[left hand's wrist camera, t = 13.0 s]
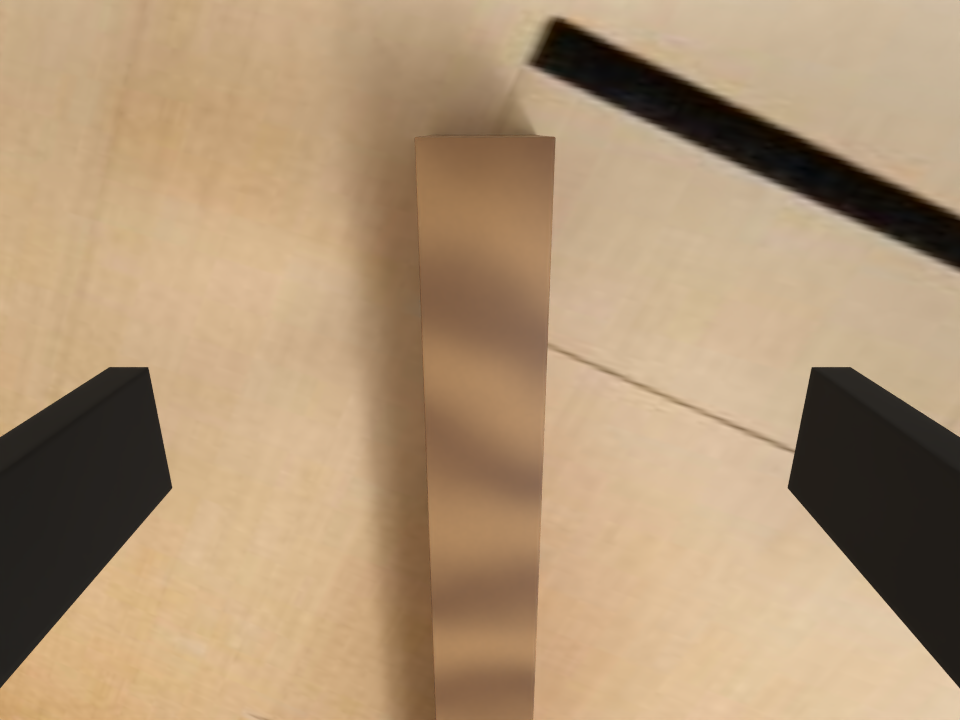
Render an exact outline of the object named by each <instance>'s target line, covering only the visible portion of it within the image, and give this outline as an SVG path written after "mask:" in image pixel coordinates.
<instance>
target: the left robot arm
mask: <svg viewBox="0 0 960 720" xmlns="http://www.w3.org/2000/svg"><path fill="white" fill-rule="evenodd" d="M171 489H172V484H171V479H170V474H169V469H168V464H167V459H166V454H165V449H164V444H163V439H162V434H161V429H160V424H159V419H158V414H157V409H156V404H155V399H154V394H153V389H152V384H151V379H150V374H149V369H148V367H109V368H108V369H106V370H104V371H103V372H101V373H100V374H98V375H97V376H95V377H94V378H92V379H90V380H89V381H87V382H86V383H84V384H83V385H81V386H80V387H78V388H76V389H75V390H73V391H72V392H70V393H69V394H67V395H65V396H64V397H62V398H61V399H59V400H58V401H56V402H55V403H53V404H51V405H50V406H48V407H47V408H45V409H44V410H42V411H40V412H39V413H37V414H36V415H34V416H33V417H31V418H30V419H28V420H26V421H25V422H23V423H22V424H20V425H19V426H17V427H16V428H14V429H12V430H11V431H9V432H8V433H6V434H5V435H3V436H1V437H0V688H1V687H2V686H3V684H4V683H5V682H6V681H7V680H8V679H9V677H10V676H11V675H12V674H13V673H14V672H15V670H16V669H17V668H18V667H19V666H20V665H21V663H22V662H23V661H24V660H25V659H26V658H27V656H28V655H29V654H30V653H31V652H32V651H33V649H34V648H35V647H36V646H37V645H38V644H39V642H40V641H41V640H42V639H43V638H44V637H45V635H46V634H47V633H48V632H49V631H50V630H51V628H52V627H53V626H54V625H55V624H56V623H57V622H58V620H59V619H60V618H61V617H62V616H63V615H64V613H65V612H66V611H67V610H68V609H69V608H70V606H71V605H72V604H73V603H74V602H75V601H76V599H77V598H78V597H79V596H80V595H81V594H82V592H83V591H84V590H85V589H86V588H87V587H88V585H89V584H90V583H91V582H92V581H93V580H94V578H95V577H96V576H97V575H98V574H99V573H100V571H101V570H102V569H103V568H104V567H105V566H106V565H107V563H108V562H109V561H110V560H111V559H112V558H113V556H114V555H115V554H116V553H117V552H118V551H119V549H120V548H121V547H122V546H123V545H124V544H125V542H126V541H127V540H128V539H129V538H130V537H131V535H132V534H133V533H134V532H135V531H136V530H137V528H138V527H139V526H140V525H141V524H142V523H143V521H144V520H145V519H146V518H147V517H148V516H149V514H150V513H151V512H152V511H153V510H154V509H155V507H156V506H157V505H158V504H159V503H160V502H161V501H162V499H163V498H164V497H165V496H166V495H167V494H168V492H169V491H170V490H171ZM788 489H789V490H790V491H791V492H792V494H793V495H794V496H795V497H796V498H797V499H798V501H799V502H800V503H801V504H802V505H803V506H804V507H805V509H806V510H807V511H808V512H809V513H810V514H811V516H812V517H813V518H814V519H815V520H816V521H817V523H818V524H819V525H820V526H821V527H822V528H823V530H824V531H825V532H826V533H827V534H828V535H829V537H830V538H831V539H832V540H833V541H834V542H835V544H836V545H837V546H838V547H839V548H840V549H841V551H842V552H843V553H844V554H845V555H846V556H847V558H848V559H849V560H850V561H851V562H852V563H853V565H854V566H855V567H856V568H857V569H858V570H859V571H860V573H861V574H862V575H863V576H864V577H865V578H866V580H867V581H868V582H869V583H870V584H871V585H872V587H873V588H874V589H875V590H876V591H877V592H878V594H879V595H880V596H881V597H882V598H883V599H884V601H885V602H886V603H887V604H888V605H889V606H890V608H891V609H892V610H893V611H894V612H895V613H896V615H897V616H898V617H899V618H900V619H901V620H902V622H903V623H904V624H905V625H906V626H907V627H908V628H909V630H910V631H911V632H912V633H913V634H914V635H915V637H916V638H917V639H918V640H919V641H920V642H921V644H922V645H923V646H924V647H925V648H926V649H927V651H928V652H929V653H930V654H931V655H932V656H933V658H934V659H935V660H936V661H937V662H938V663H939V665H940V666H941V667H942V668H943V669H944V670H945V672H946V673H947V674H948V675H949V676H950V677H951V679H952V680H953V681H954V682H955V683H956V684H957V686H958V687H959V688H960V437H959V436H957V435H955V434H954V433H952V432H951V431H949V430H948V429H946V428H944V427H943V426H941V425H940V424H938V423H937V422H935V421H934V420H932V419H930V418H929V417H927V416H926V415H924V414H923V413H921V412H920V411H918V410H916V409H915V408H913V407H912V406H910V405H909V404H907V403H905V402H904V401H902V400H901V399H899V398H898V397H896V396H895V395H893V394H891V393H890V392H888V391H887V390H885V389H884V388H882V387H880V386H879V385H877V384H876V383H874V382H873V381H871V380H870V379H868V378H866V377H865V376H863V375H862V374H860V373H859V372H857V371H856V370H854V369H852V368H851V367H812V369H811V374H810V379H809V384H808V389H807V394H806V399H805V404H804V409H803V414H802V419H801V424H800V429H799V434H798V439H797V444H796V449H795V454H794V459H793V464H792V469H791V474H790V479H789V484H788Z"/></svg>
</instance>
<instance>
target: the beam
mask: <svg viewBox="0 0 960 720" xmlns="http://www.w3.org/2000/svg"><path fill="white" fill-rule="evenodd" d="M415 158H416V186H417V214H418V241H419V269H420V297H421V325H422V352H423V380H424V408H425V435H426V463H427V491H428V519H429V546H430V574H431V602H432V629H433V657H434V685H435V713H436V720H533V709H534V682H535V656H536V630H537V604H538V578H539V552H540V525H541V499H542V473H543V447H544V421H545V394H546V368H547V342H548V316H549V290H550V263H551V237H552V211H553V185H554V159H555V137H549V136H539V135H454V136H422V137H415Z"/></svg>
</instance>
